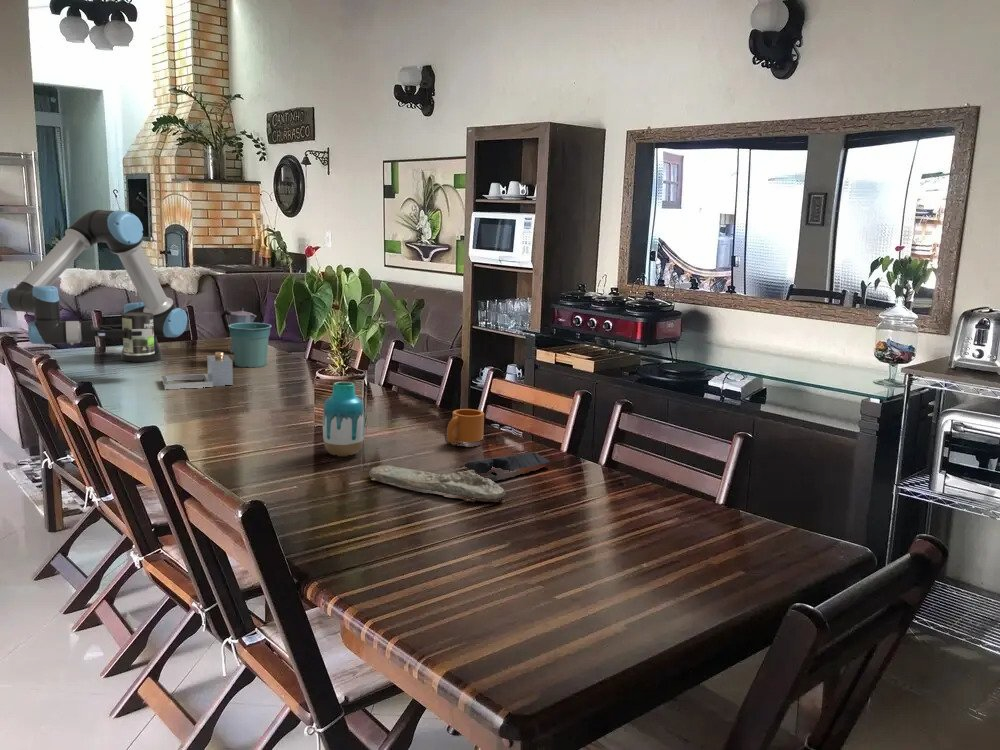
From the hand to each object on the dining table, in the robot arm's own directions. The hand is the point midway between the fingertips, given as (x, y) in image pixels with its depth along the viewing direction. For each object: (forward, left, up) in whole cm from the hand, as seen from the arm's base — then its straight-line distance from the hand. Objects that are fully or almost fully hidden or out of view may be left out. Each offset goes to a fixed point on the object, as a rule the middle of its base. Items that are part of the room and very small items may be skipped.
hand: (151, 330), depth 287 cm
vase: (+109, +39, -18) cm, 117 cm away
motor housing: (+10, +14, -18) cm, 25 cm away
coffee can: (0, -4, -8) cm, 9 cm away
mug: (+109, +73, -18) cm, 133 cm away
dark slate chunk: (+133, +75, -19) cm, 154 cm away
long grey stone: (+142, +52, -19) cm, 152 cm away
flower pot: (-21, +37, -18) cm, 46 cm away
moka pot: (-50, +37, -18) cm, 65 cm away
